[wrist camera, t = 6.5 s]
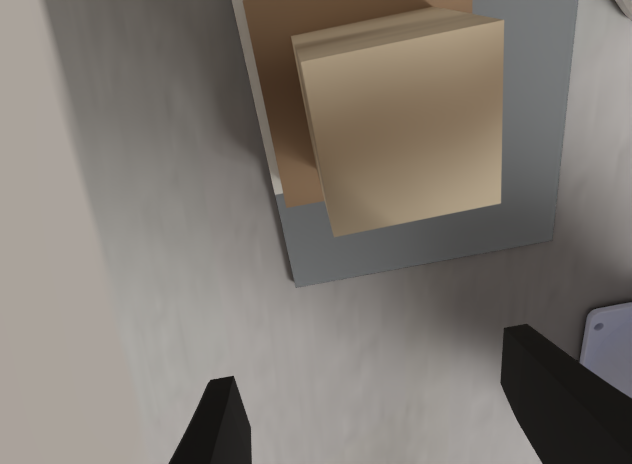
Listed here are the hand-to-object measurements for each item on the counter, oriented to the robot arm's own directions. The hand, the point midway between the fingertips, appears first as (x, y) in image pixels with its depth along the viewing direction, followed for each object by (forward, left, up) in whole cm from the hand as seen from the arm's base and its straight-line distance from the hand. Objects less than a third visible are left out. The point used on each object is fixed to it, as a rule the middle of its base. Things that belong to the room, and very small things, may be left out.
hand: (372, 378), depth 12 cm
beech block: (+6, -2, -7) cm, 9 cm away
